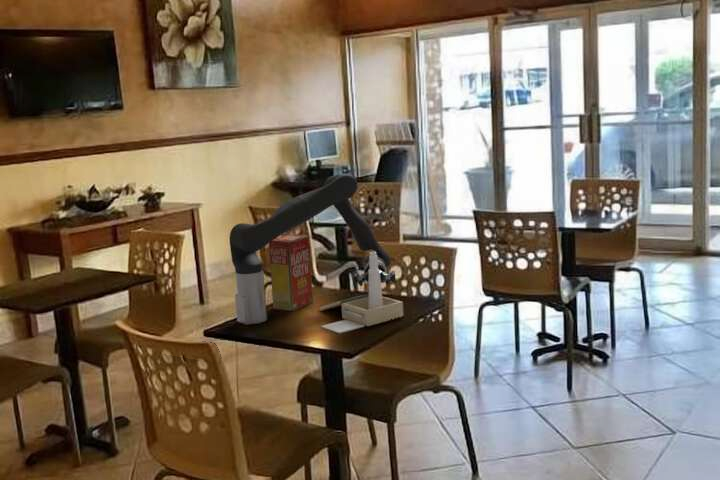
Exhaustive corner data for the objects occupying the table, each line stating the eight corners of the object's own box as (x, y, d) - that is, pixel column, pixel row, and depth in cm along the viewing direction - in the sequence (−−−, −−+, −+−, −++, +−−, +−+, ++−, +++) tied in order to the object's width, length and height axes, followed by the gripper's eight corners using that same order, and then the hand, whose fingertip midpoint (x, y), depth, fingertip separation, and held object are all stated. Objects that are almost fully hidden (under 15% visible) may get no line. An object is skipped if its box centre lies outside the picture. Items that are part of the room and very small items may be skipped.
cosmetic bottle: (381, 313, 264) (377, 249, 260) (388, 317, 259) (385, 252, 255) (364, 316, 262) (360, 252, 258) (371, 320, 256) (368, 255, 252)
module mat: (339, 333, 244) (339, 332, 244) (321, 327, 252) (321, 326, 252) (364, 326, 250) (364, 325, 250) (346, 320, 258) (346, 319, 258)
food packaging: (293, 311, 273) (287, 241, 268) (271, 309, 278) (266, 240, 273) (314, 302, 284) (310, 234, 279) (293, 299, 289) (288, 233, 284)
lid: (319, 307, 272) (320, 309, 272) (339, 300, 261) (340, 303, 261) (352, 299, 280) (353, 301, 280) (373, 292, 270) (374, 294, 270)
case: (365, 326, 249) (364, 309, 248) (338, 318, 261) (336, 301, 260) (403, 316, 259) (402, 299, 258) (375, 308, 271) (374, 291, 270)
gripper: (354, 262, 273) (351, 272, 257) (395, 260, 272) (394, 270, 256) (355, 282, 274) (353, 294, 258) (396, 281, 274) (396, 292, 258)
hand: (374, 282), depth 257 cm, fingers open, 8 cm apart
